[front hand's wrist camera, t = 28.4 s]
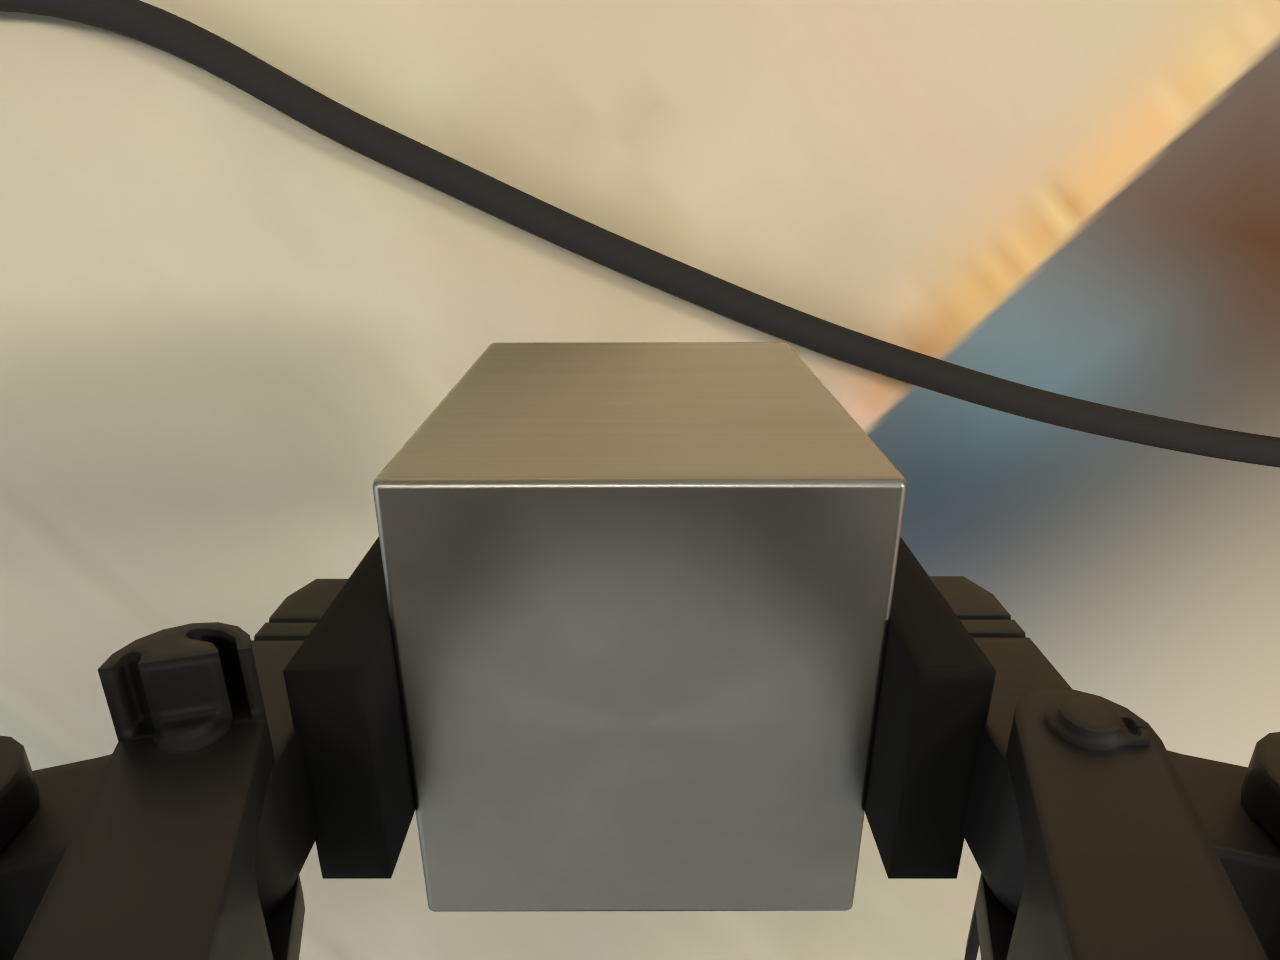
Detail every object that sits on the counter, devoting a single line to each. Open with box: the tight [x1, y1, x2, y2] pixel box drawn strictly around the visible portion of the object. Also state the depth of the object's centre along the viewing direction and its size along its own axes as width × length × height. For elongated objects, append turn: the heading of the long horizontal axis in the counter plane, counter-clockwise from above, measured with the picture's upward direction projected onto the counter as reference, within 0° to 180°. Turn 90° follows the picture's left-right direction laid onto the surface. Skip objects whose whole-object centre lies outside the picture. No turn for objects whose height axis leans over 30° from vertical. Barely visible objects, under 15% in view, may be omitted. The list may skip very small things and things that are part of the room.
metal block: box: [373, 342, 907, 911], centre depth 12 cm, size 6×6×7 cm
